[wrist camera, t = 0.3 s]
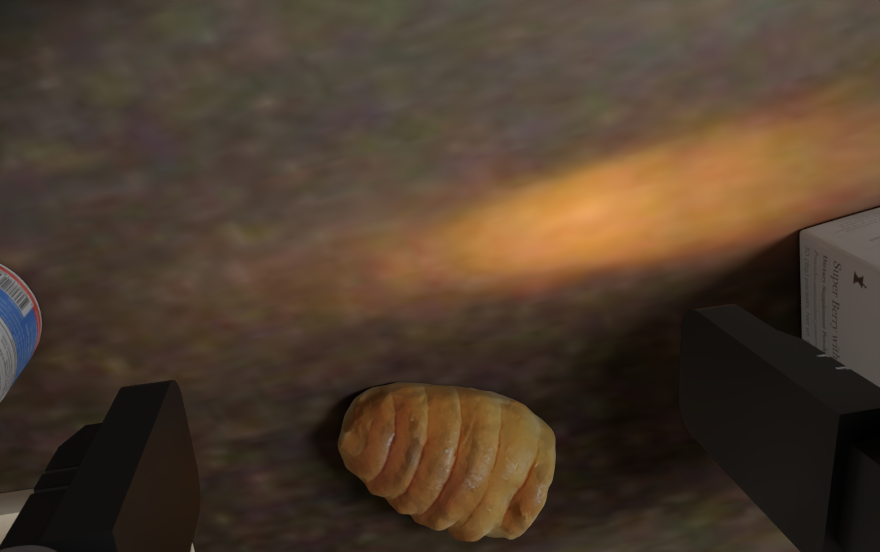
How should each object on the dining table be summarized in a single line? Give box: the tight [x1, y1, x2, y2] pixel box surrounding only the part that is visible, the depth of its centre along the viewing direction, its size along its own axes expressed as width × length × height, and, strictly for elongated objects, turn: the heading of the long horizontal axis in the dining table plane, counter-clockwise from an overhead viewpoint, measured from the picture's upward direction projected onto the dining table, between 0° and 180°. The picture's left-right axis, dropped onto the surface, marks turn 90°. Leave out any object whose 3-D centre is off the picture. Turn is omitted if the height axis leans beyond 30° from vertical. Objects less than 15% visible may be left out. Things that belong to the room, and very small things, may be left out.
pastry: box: [338, 382, 556, 542], centre depth 32 cm, size 9×7×4 cm
